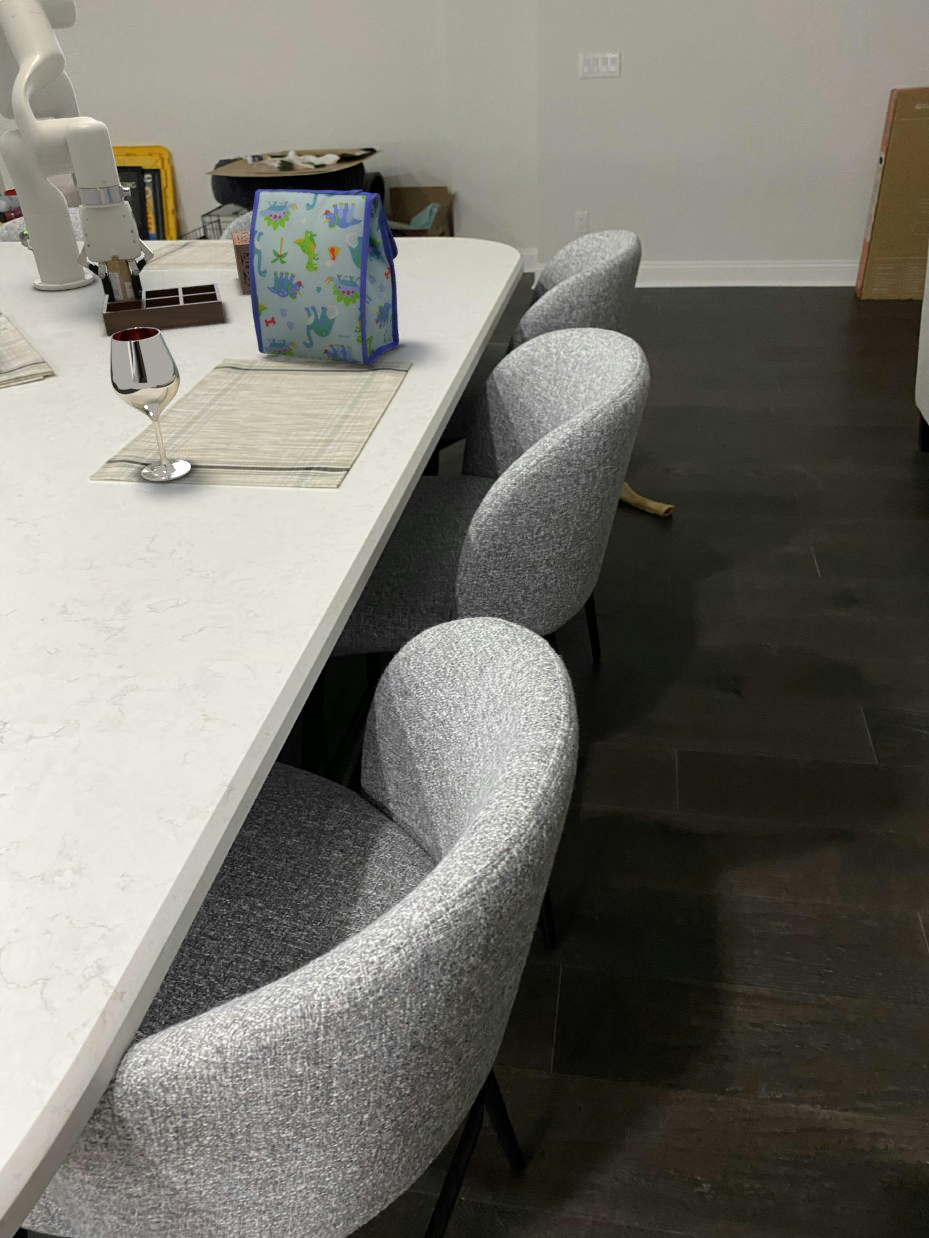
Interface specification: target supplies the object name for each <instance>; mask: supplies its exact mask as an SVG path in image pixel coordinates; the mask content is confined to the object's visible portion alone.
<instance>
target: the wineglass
mask: <svg viewBox="0 0 929 1238" xmlns="http://www.w3.org/2000/svg"><path fill="white" fill-rule="evenodd" d="M109 359H110V360H109V371H110V383H111V386H112V389H113V391H114V393H115V394H116V395H117V397H118V398H119V399H120V401H121V400H122V402H124V403H125V404H126V405H128V406H129V407H130V408H133V409H135V410H137V411H138V412H140V413H142V414H144V415H145V416H146V417H147V418H149V420H151V422H152V427H153V431H154V434H155V440H156V444H157V447H158V448H157V449H158V454H159V458H160V461H156V462H153V463H151V464H148V465H146V466H145V467H144V468H143V469H142V470H141V472H140V475H141V477H142V478H143V479H144V480H147V481H150V482H167V481H172V480H177V479H180V478H182V477H184V476H186V475H188V474H189V473H190V472H191V469H192V466H191V463H189V462H188V461H186V460H183V459H168V455H167V451H166V448H165V447H166V446H165V443H164V439H163V434H162V430H161V425H160V417H161V414H162V413H163V411H164V410H165V408H166V407H167V406H168V405H169V404H171V402H172V400H174V398H175V396H176V395H177V393H178V392H179V388H180V384H181V376H180V371H179V368H178V365H177V363H176V361H175V359H174V357H173V354H172V352H171V350H170V349H169V346H168V345H167V343H166V341H165V339H164V337H163V334H162V333H161V331H160V330H158V329H155V328H132V329H127V330H122V331H119V332H117V333H115V334H113V335H110V358H109Z"/></svg>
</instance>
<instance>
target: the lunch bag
mask: <svg viewBox="0 0 929 1238" xmlns="http://www.w3.org/2000/svg"><path fill="white" fill-rule="evenodd" d="M250 220H251V221H250V228H249V230H250V238H249V275H250V288H251V294H250V302H251V309H252V319H253V325H254V332H255V335H256V336H255V337H256V341H257V349H258V352H259V353H261V354H264V355H266V354H267V355H272V356H274V355H275V356H284V357H291V358H300V359H311V360H319V361H330V362H331V361H332V362H338V363H339V362H340V363H348V364H355V365H356V364H359V365H360V364H361V365H366V366H370V365H372V364H373V363H374V362H375V361H377V359H378V358H379V357H381V356H382V355H383V354H384V353H386V352H388V351H390V350H391V349H392V350H393V349H395V348H397V347H398V346H399V345H400V334H399V320H398V319H399V317H398V316H399V314H398V313H399V312H398V294H397V293H398V291H397V290H398V288H397V278H396V269H395V264H394V263H395V262H394V260H395V259H396V258H397V257H398V255H399V250H398V245H397V243H396V239H395V238H394V234H393V233H392V230H391V227H390V225H389V221H388V218H387V215H386V212H385V208H384V206H383V203H382V199H381V195H380V194H379V193H378V192H374V193H371V192H367V191H363V189H351V190H335V189H322V190H321V189H319V190H317V189H313V190H312V189H285V188H284V189H282V188H279V189H278V188H277V189H272V188H271V189H268V188H265V189H260V188H258V189H257V190H255V192H254V201H253V206H252V214H251V219H250Z"/></svg>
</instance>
